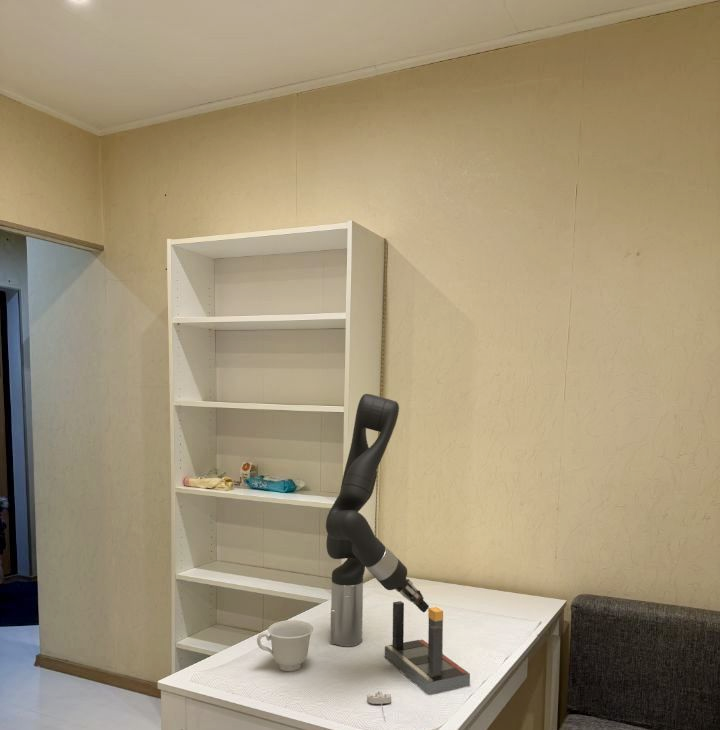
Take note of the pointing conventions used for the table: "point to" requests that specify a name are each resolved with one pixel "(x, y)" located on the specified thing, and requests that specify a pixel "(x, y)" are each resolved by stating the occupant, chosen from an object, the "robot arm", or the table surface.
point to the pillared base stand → (424, 658)
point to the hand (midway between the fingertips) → (425, 608)
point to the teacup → (288, 643)
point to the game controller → (379, 699)
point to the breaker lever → (435, 622)
